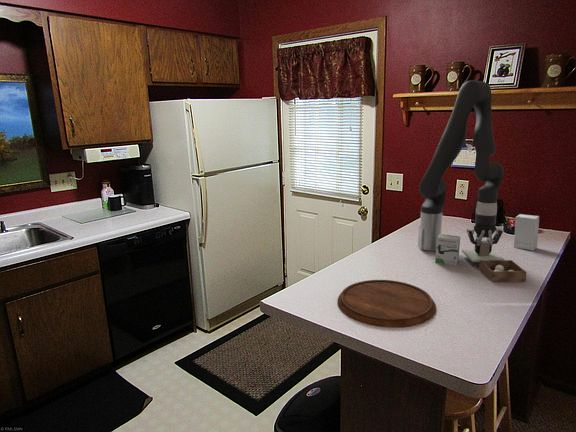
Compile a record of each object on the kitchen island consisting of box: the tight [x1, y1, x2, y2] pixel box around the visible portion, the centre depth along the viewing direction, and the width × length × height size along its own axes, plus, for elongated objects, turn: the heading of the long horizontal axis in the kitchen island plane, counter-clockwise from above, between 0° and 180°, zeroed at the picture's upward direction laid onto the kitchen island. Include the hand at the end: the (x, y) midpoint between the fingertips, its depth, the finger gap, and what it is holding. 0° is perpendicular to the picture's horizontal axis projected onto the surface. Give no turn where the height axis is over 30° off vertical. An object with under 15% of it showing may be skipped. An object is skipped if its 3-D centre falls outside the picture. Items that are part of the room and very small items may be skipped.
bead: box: [495, 265, 504, 271], centre depth 159 cm, size 3×3×3 cm
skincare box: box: [513, 213, 540, 251], centre depth 186 cm, size 8×6×15 cm
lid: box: [461, 240, 506, 262], centre depth 169 cm, size 12×12×6 cm
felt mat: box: [462, 256, 479, 268], centre depth 171 cm, size 11×11×1 cm
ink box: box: [434, 233, 461, 267], centre depth 170 cm, size 9×5×12 cm, turn 62°
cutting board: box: [337, 279, 437, 329], centre depth 139 cm, size 32×32×3 cm
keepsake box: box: [478, 259, 527, 283], centre depth 156 cm, size 12×12×4 cm
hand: (482, 253), depth 170 cm, fingers closed on lid, 3 cm apart
